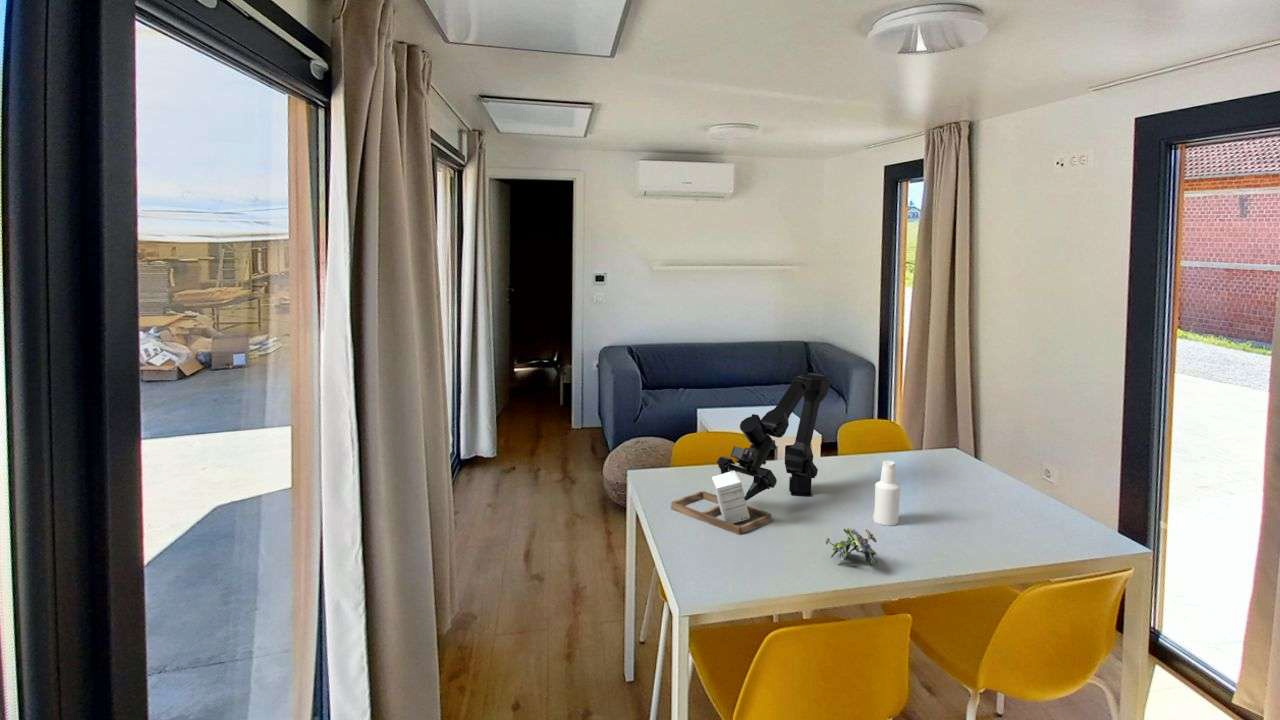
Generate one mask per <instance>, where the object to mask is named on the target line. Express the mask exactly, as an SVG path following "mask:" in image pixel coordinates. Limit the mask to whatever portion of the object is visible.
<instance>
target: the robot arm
mask: <svg viewBox="0 0 1280 720" xmlns="http://www.w3.org/2000/svg"><path fill="white" fill-rule="evenodd" d="M830 387H831V380H830V379H829V377H828V376H827V375H824V374H819V373H812V372H808V373H806V374H805V375H797V376H794V377H793V378H792V380H791V383H790V385H789V387H788V388H787V389H786V391H785V392H784V394H783V395H782V397H781V399H780V400H779V401H778V403H777V405H776V406H775V407H774V408H773V409H771V410H769V411H767V412H766V413H765V414H764V416H763V417H762V418H761V417H760V416H759V414H754V413H752V414H751V415H750V416H749V417H746V418H744V419H743V420H742V421H740V424H739V429H740V431H741V432H742V434H743V435H744V436H745V438H746V440H747V441H748V442H749V443H750V445H749V447H744V448H743V447H739V446H736V445H733V447H732V449H731V453H730V457H727V456H723V455H722V456H719V458H718V459H717V461H716V464H717V465H718V468H719V470H720V474H724V473H727V472H730V471H736V473H740V474H743V475H747V476H750V477H753V480H752V483H751V485H750V487H749V488H748V490H747V492H746V493H745V495H744V496H745V498H744V499H745V500H746V502H747V501H748V500H750V499H752V498H753V497H754V496H756V495H759V493H761V492H763V491H765V490H770V489H773V488H775V486H776V485H777V482H778V479H777V478H776V476H775V474H774V472H773V471H772V470H771V469H768V468H766V467H765V468H764V467H762V465H764V466H765V465H766V464H767V461H766V458H767V457H768V455H769V453H770V452H771V450H775V451H776V450H777V445H776V440H775V439H773V438H783V437H784V436H785V434H786V432H787V430H788V428H789V425H790V424H789V419H790V416H791V414H792V413H793V412H794V410H795V409H796V407H797V406H798V404H799V402H800V401H801V400H802V399H803V404H802V408H801V414H800V418H799V423H798V427H797V432H796V435H795V440H794V441H795V442H794V443H793V444H792V445H791V446H788V447H787V448H786V453H785V457H784V465H785V471H786V473H787V474H791V475H790V476H789V480H788V481H789V484H788V485H789V486H788V490H789V492H790V495H791V496H799V497H803V496H804V497H812V495H813V494H812V483H813V482H812V479H815V478H816V477H817V476H818V471H819V469H818V468H817V466H816V464H815V463H814V462H813V461H814V453H813V450H812V447H811V445H812V440H813V435H814V431H815V425H816V422H817V417H818V413H819V412H818V411H819V409H820V408H819V407H820V405H821V404H820V403H821V402H822V401H823V400H824V399H825V397H827V395H828V391H829V389H830ZM772 437H773V438H772ZM732 458H735V461H736V463H738V464H736V463H735V462H734V461H733V459H732Z"/></svg>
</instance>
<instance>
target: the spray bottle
mask: <svg viewBox="0 0 1280 720" xmlns="http://www.w3.org/2000/svg"><path fill="white" fill-rule="evenodd" d="M880 473H881V475H880V480H879V481H877V482H875V483H874V500H873V517H872V520H873V522H875V523H876V524H878V525H882V526H886V527H887V526H888V527H891V526H892V527H893V526H896V525H897V524H898V523H899V513H900V512H899V511H900V498H901V497H900V496H901V485H900V484H899V483H897V482H896V480H897V476H896V475H897V474H896V473H897V470H896V462H895V461H893V460H888V459H887V460H883V462H882V468H881V472H880Z"/></svg>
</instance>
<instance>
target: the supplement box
mask: <svg viewBox="0 0 1280 720" xmlns="http://www.w3.org/2000/svg"><path fill="white" fill-rule="evenodd" d="M737 473H738V472H736V471H730V472H727V473H724V474H721V473H720V474H717V475H714V476H712V477H711V479H712V480H711V481H712V482H713V483H712V484H713V487H714V491H715V495H716V496H717V499H718V503H719V504H718V503H717V504H718V506H719V507H720V511H721V513H720V514H721V515H722V517H723V520H724V521H726V522H729V523H732V524H735V523H740V522H743V521H747V520H750V518H751V515H749V512H748V508H747V506H748V504H747V501H746V500H745V499H744V498H745V496H746V495H745V491H744V488H743V484H742V481H741V479H740V478H739V475H738V474H737Z"/></svg>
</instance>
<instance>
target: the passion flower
mask: <svg viewBox="0 0 1280 720" xmlns="http://www.w3.org/2000/svg"><path fill="white" fill-rule="evenodd" d="M842 528H843V532H844V533H845V534H846V536H847V537H846V540H845V541H844V540H840V541H839V542H836V543H832V542H831V541H830V540H831V539H830V538H829V537H827V538H826V540H825V544H826V545H829V544H831V545H832V546H833V548H832V550H833V552H832V554H831V556H830V558H831V559H832V558H833V557H834V556H835V555H836V554H837V553H839V552H840V560H839V563H838V566H840V565H841V564H842V562H844V561H845V560H847V559H848V557H849V555H850V554H851V553H852V552H853V551H856V553H862V554H863V555H864V557H865V562H866V563H867V565H868V566H871V567H873V566H874V564H878V563H879V560H878V559H876V557H877V554H878V553H877V552H876V551H875V550H874V549H873V548H872V547H871V544H869V541H870V540H872V541H873V542H875V543H877V542H878V541H877V539H876V538H875V536H874V534H873V533H871V532H870V531H869V530H868V529H865V532H866V534H867V535H868V537H866V538H863V536H862V535H861V534H860V532H858V531H857V530H856V529H855V528H852V529H851V528H849V527H848V528H847V529H846V526H843V527H842ZM850 547H852V549H850ZM873 563H874V564H873Z"/></svg>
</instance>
